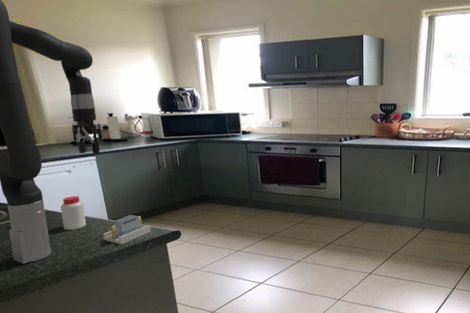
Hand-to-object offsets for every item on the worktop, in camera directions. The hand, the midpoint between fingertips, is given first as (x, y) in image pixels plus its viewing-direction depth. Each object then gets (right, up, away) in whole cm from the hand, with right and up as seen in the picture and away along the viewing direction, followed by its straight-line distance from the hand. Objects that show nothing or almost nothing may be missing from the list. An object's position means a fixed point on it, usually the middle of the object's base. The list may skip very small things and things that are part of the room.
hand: (89, 153), depth 132 cm
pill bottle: (-9, -28, +8) cm, 30 cm away
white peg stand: (+16, -28, -8) cm, 33 cm away
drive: (+16, -27, -8) cm, 32 cm away
